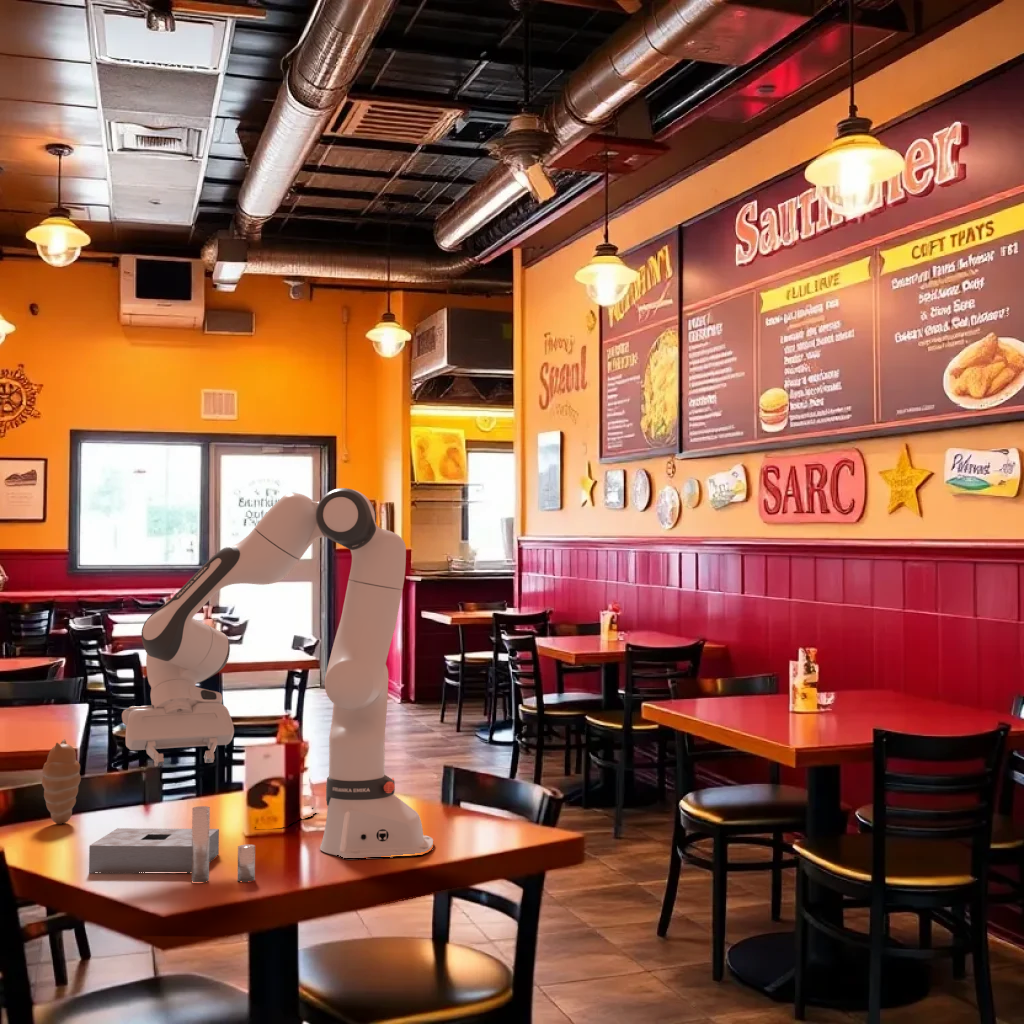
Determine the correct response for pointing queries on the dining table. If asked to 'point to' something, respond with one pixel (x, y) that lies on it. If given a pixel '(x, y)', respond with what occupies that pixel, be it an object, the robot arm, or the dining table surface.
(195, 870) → the tall pin
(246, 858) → the short pin
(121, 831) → the grey peg hole block
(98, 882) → the dining table surface
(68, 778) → the cat ice cream
